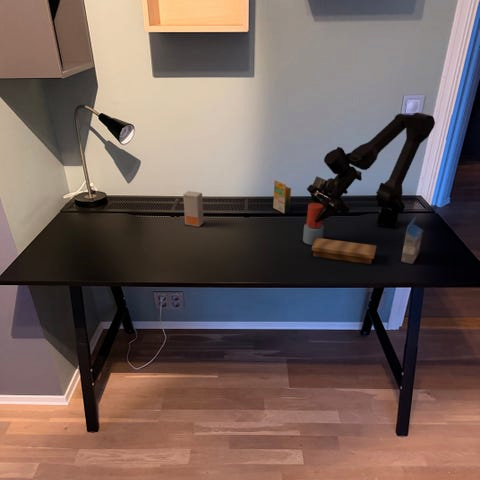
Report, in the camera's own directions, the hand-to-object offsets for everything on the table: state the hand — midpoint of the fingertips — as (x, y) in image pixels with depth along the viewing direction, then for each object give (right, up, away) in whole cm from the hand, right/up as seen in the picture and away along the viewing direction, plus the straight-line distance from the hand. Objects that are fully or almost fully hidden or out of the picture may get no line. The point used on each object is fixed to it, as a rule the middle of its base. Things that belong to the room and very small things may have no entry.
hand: (311, 219), depth 157 cm
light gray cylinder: (+1, -7, +5) cm, 8 cm away
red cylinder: (+1, -2, +2) cm, 3 cm away
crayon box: (-8, +10, +30) cm, 32 cm away
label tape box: (+32, -14, -6) cm, 35 cm away
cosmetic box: (-42, +2, +19) cm, 46 cm away
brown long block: (+10, -13, -5) cm, 17 cm away
